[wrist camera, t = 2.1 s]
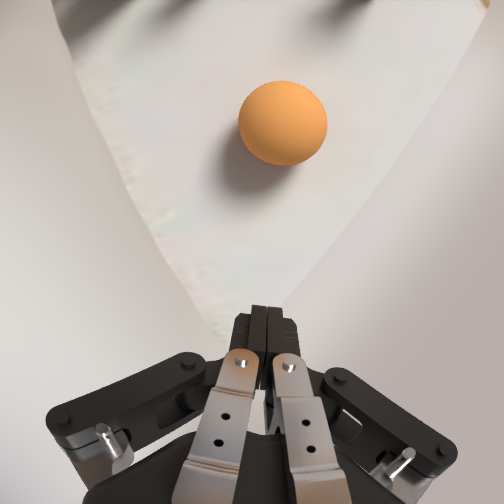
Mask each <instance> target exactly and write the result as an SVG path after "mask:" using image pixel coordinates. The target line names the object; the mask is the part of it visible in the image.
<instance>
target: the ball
mask: <svg viewBox="0 0 504 504" xmlns="http://www.w3.org/2000/svg"><path fill="white" fill-rule="evenodd" d="M238 126H239V132H240V135H241V138H242V140H243V142H244V144H245V146H246V147H247V148H248V150H249V151H250V152H251V153H252V154H253V155H255V156H256V157H257V158H259V159H260V160H262V161H264V162H267V163H270V164H273V165H279V166H288V165H294V164H298V163H301V162H303V161H305V160H307V159H309V158H310V157H311V156H313V155H314V154H315V153H316V152H317V151H318V150H319V148H320V147H321V145H322V143H323V141H324V139H325V136H326V132H327V117H326V113H325V110H324V107H323V105H322V104H321V102H320V100H319V99H318V98H317V97H316V96H315V95H314V94H313V93H312V92H311V91H310V90H308V89H307V88H305V87H304V86H301V85H299V84H296V83H293V82H288V81H276V82H270V83H267V84H264V85H262V86H260V87H259V88H257V89H255V90H254V91H253V92H252V93H251V94H250V95H249V96H248V97H247V98H246V100H245V101H244V103H243V105H242V107H241V109H240V112H239V118H238Z"/></svg>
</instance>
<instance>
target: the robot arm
mask: <svg viewBox="0 0 504 504" xmlns="http://www.w3.org/2000/svg"><path fill="white" fill-rule="evenodd" d="M259 384H260V390H265V399H264V418H265V431H266V432H265V433H266V435H259V434H256V433H252V432H249V431H247V426H248V421H249V415H250V410H251V404H252V400H253V399H254V395H255V390H256V389H259ZM343 409H345V410H346V411H347V412H348V413H350V414H351V415H352V416H353V417H355V418H356V419H357V420H359V421H360V422H361V424H362V426H361V425H360V424H359V423H357V422H356V421H355V420H354V419H352V418H351V417H350V416H349V415H347V414H346V413H345V412H343ZM202 413H203V415H202V418H201V421H200V423H199V426H198V429H197V431H195V432H191V433H188V434H185V435H183V436H180V437H178V438H177V439H175V440H173V441H172V442H170V443H168V444H167V445H165V446H164V447H162V448H160V449H159V450H157V451H156V452H154V453H152V454H151V455H149V456H147V457H146V458H144V459H142V460H140V461H139V462H137V463H135V464H133V465H132V466H130V465H131V464H132V462H133V460H134V452H136V451H138V450H140V449H141V448H143V447H145V446H147V445H149V444H151V443H152V442H154V441H156V440H158V439H160V438H162V437H163V436H165V435H167V434H169V433H170V432H172V431H174V430H175V429H177V428H179V427H181V426H182V425H184V424H186V423H187V422H189V421H191V420H192V419H194V418H195V417H197V416H199V415H200V414H202ZM46 426H47V428H48V429H49V431H50V432H51V433H52V435H53V436H54V438H55V440H56V442H57V443H58V445H59V446H60V447H61V449H62V450H63V451H64V452H65V454H66V455H67V456H68V457H69V458H70V460H71V462H72V464H73V465H74V467H75V469H76V471H77V472H78V474H79V476H80V477H81V479H82V481H83V482H84V484H85V485H86V487H87V488H88V490H89V491H88V492H87V493H86V495H85V497H84V499H83V503H82V504H416V503H417V502H418V500H419V499H420V498H421V496H422V495H423V494H424V492H425V491H426V490H427V488H428V487H429V485H430V484H431V483H432V481H433V480H434V479H435V478H437V477H438V476H439V475H440V474H442V473H443V472H444V471H445V470H446V469H447V468H448V467H450V466H451V465H452V464H453V463H454V462H455V461H456V458H457V455H458V451H457V448H456V446H455V444H454V443H453V442H452V441H451V440H449V439H447V438H446V437H444V436H443V435H441V434H440V433H438V432H436V431H435V430H434V429H432V428H431V427H429V426H428V425H426V424H424V423H423V422H422V421H420V420H418V419H417V418H416V417H414V416H413V415H411V414H410V413H408V412H407V411H405V410H404V409H403V408H401V407H399V406H398V405H397V404H395V403H394V402H392V401H391V400H389V399H388V398H387V397H385V396H384V395H382V394H381V393H380V392H378V391H376V390H375V389H374V388H373V387H371V386H370V385H368V384H367V383H365V382H364V381H363V380H361V379H360V378H359V377H357V376H356V375H354V374H353V373H351V372H350V371H349V370H346V369H344V368H338V367H335V368H330V369H328V370H327V371H326V372H325V374H324V373H320V372H317V371H314V370H311V369H309V368H308V367H307V366H306V364H305V361H304V360H303V359H302V358H301V355H300V349H299V341H298V333H297V326H296V324H295V323H294V321H293V320H292V319H289V318H283V312H282V308H278V307H269V306H268V307H267V306H260V305H252V310H251V314H244V313H240V314H239V315H238V316H237V317H236V318H235V322H234V327H233V332H232V337H231V343H230V348H229V352H228V353H227V354H226V356H225V357H224V358H222V359H220V360H216V361H208V362H205V360H204V358H203V357H202V356H200V355H199V354H196V353H192V352H183V353H179V354H177V355H175V356H173V357H171V358H168V359H166V360H164V361H162V362H160V363H158V364H156V365H153V366H151V367H149V368H147V369H145V370H142V371H140V372H138V373H136V374H133V375H131V376H129V377H127V378H124V379H122V380H120V381H117V382H115V383H113V384H110V385H108V386H106V387H103V388H101V389H99V390H96V391H94V392H91V393H89V394H86V395H84V396H81V397H79V398H76V399H74V400H71V401H68V402H66V403H63V404H61V405H58V406H56V407H53V408H52V409H51V410H50V411H49V412H48V414H47V416H46ZM333 444H334V445H335V446H334V445H333ZM354 461H355V462H356V463H355V462H354ZM359 465H360V466H361V467H362V468H364V469H365V470H366V471H367V472H368V473H370V475H369V474H368V473H367V472H366V471H365V470H364V469H362V468H361V467H360V466H359ZM129 466H130V467H129Z"/></svg>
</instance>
